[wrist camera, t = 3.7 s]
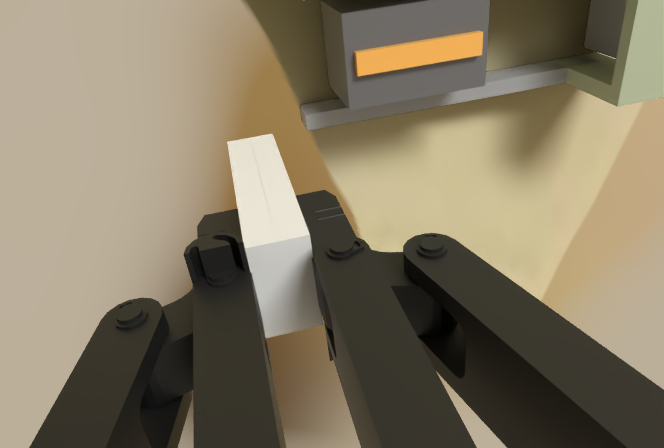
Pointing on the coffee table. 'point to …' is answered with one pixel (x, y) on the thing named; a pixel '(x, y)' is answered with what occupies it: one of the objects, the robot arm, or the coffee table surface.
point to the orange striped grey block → (403, 48)
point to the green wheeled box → (554, 68)
